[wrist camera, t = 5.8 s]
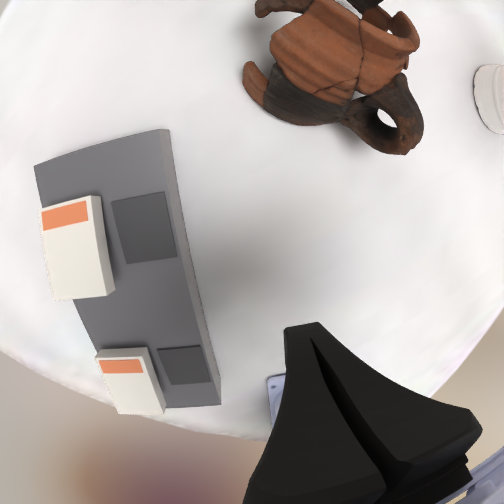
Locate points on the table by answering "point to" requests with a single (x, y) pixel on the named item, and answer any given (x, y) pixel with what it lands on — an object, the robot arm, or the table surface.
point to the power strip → (141, 261)
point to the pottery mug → (341, 70)
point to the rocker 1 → (76, 249)
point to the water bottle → (490, 96)
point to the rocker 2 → (131, 380)
